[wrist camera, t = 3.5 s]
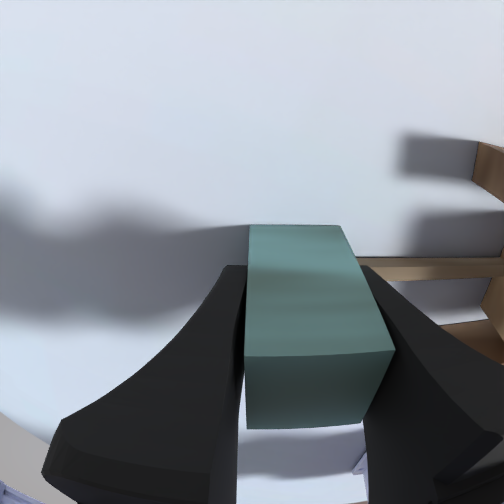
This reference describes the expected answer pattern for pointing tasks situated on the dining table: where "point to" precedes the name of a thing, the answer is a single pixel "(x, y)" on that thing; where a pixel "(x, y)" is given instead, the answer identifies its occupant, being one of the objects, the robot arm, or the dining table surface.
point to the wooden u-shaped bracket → (500, 185)
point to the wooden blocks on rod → (328, 323)
